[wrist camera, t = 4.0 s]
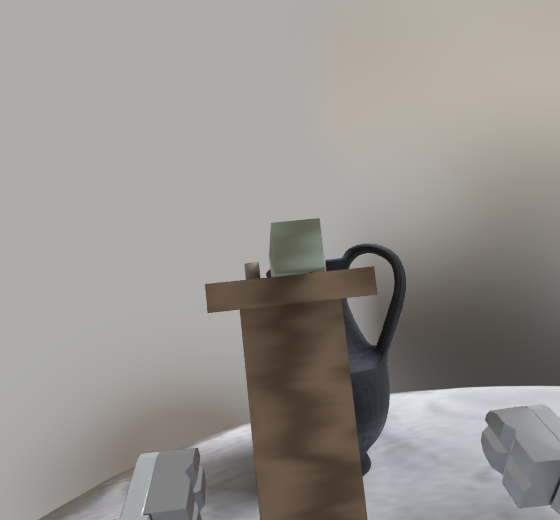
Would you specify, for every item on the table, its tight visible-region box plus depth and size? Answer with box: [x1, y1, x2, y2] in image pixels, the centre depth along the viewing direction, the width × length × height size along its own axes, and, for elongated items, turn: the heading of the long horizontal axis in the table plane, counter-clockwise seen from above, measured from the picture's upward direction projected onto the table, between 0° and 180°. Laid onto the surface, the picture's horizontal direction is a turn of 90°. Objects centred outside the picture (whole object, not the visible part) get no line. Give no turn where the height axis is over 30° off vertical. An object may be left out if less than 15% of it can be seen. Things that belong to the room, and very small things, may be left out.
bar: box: [269, 219, 325, 277], centre depth 27 cm, size 2×19×2 cm, turn 2°
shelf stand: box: [205, 256, 377, 520], centre depth 31 cm, size 12×12×28 cm
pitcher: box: [266, 244, 406, 476], centre depth 51 cm, size 17×21×30 cm
